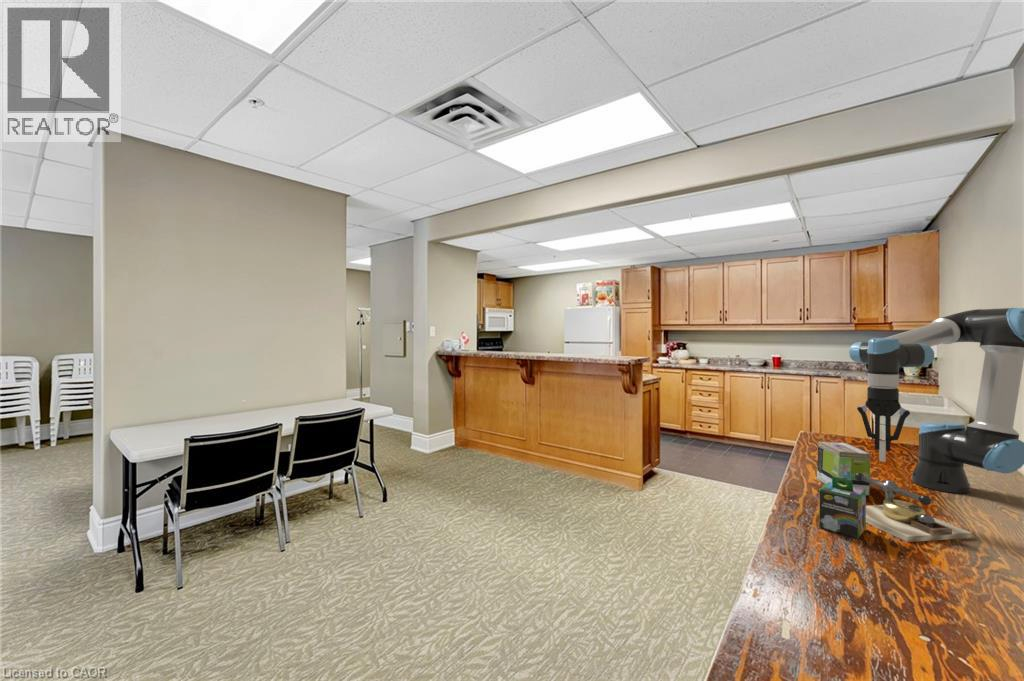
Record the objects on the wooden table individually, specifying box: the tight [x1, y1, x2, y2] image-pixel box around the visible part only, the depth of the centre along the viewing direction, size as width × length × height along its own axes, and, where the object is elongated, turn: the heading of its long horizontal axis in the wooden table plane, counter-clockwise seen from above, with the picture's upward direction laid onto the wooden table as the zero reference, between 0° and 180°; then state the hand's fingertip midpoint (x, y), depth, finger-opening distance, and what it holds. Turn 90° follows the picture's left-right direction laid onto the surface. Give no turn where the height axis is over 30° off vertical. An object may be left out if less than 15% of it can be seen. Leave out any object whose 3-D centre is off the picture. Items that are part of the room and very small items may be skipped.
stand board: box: [866, 504, 972, 543], centre depth 124 cm, size 20×19×3 cm
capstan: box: [854, 473, 933, 523], centre depth 129 cm, size 22×9×9 cm, turn 9°
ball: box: [918, 513, 935, 527], centre depth 119 cm, size 4×4×4 cm
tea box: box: [816, 441, 872, 496], centre depth 154 cm, size 15×10×15 cm, turn 168°
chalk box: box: [818, 477, 867, 540], centre depth 121 cm, size 9×9×15 cm
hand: (882, 460), depth 136 cm, fingers closed
